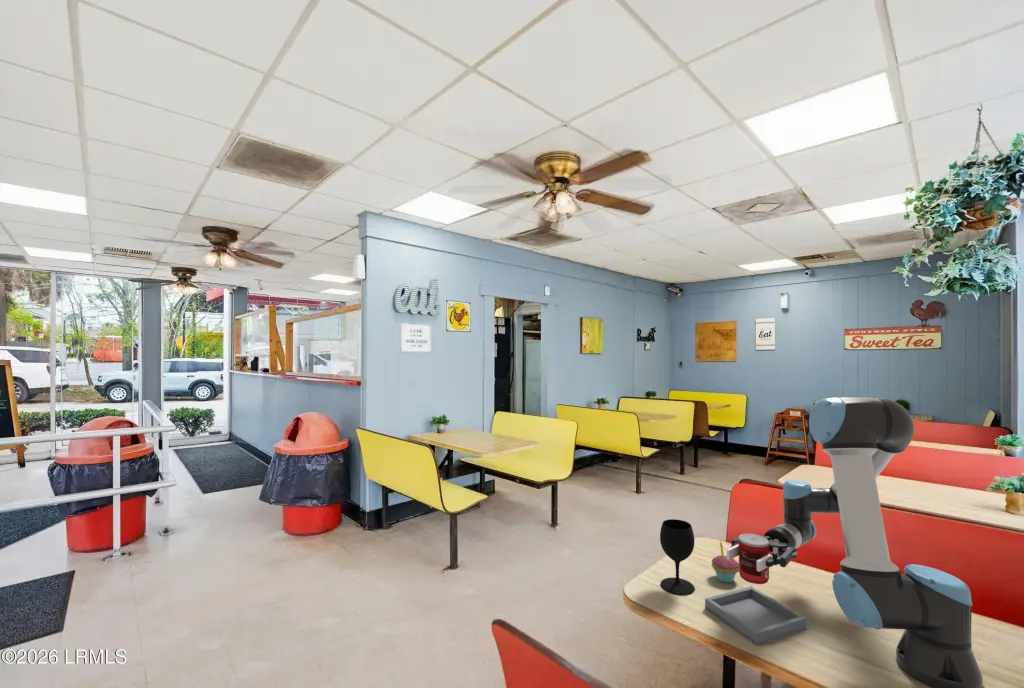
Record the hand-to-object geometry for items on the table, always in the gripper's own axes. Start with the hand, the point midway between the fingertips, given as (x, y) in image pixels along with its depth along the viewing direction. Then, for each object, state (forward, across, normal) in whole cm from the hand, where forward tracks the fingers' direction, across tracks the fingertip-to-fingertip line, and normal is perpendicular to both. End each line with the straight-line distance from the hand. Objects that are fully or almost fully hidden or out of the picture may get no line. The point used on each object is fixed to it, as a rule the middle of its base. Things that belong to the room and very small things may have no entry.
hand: (742, 560), depth 130 cm
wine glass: (-3, +23, -18) cm, 30 cm away
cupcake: (-20, +17, -18) cm, 32 cm away
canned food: (-6, 0, -7) cm, 9 cm away
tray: (-5, 0, -18) cm, 19 cm away
